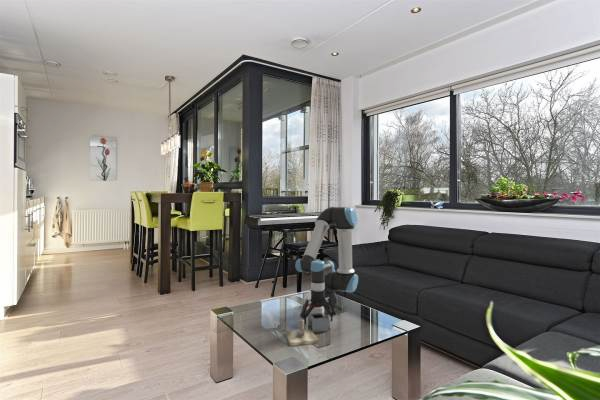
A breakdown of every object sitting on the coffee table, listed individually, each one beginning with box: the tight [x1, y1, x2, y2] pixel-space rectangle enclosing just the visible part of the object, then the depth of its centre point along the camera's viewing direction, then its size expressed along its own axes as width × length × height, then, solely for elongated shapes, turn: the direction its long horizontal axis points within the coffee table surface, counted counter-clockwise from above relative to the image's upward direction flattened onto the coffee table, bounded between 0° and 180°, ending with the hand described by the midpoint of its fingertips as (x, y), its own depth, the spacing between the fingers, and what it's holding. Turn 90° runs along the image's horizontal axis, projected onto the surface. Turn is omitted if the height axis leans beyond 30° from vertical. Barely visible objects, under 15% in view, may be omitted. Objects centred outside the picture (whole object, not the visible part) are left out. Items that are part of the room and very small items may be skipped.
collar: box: [308, 312, 330, 334], centre depth 193 cm, size 9×9×7 cm
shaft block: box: [284, 318, 319, 347], centre depth 181 cm, size 14×14×10 cm
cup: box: [306, 302, 325, 318], centre depth 203 cm, size 10×10×10 cm
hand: (318, 328), depth 193 cm, fingers open, 12 cm apart
